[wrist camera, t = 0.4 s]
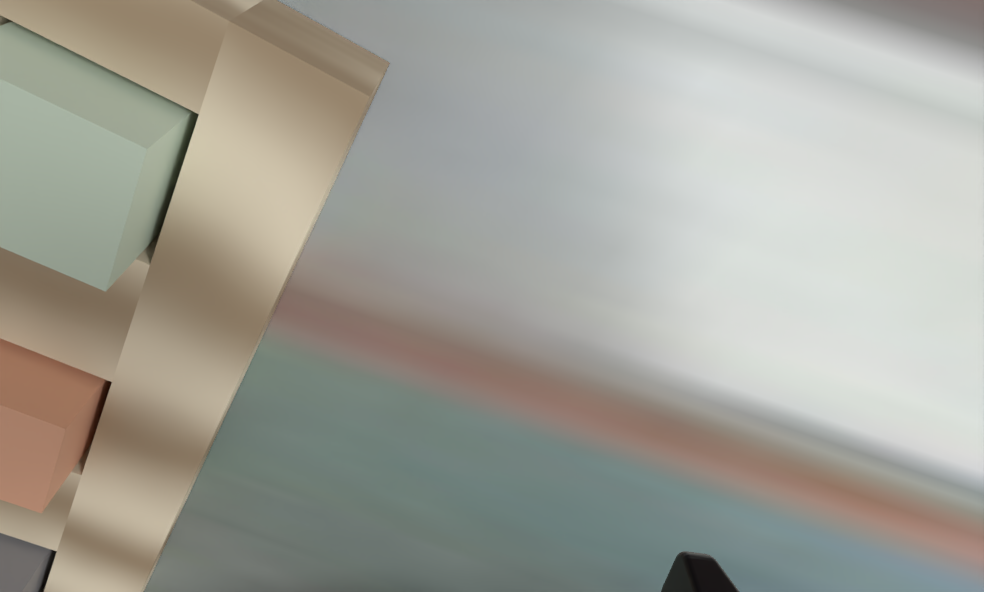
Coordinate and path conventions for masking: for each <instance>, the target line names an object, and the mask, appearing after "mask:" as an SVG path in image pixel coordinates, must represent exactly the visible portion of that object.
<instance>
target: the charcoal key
mask: <svg viewBox="0 0 984 592" xmlns="http://www.w3.org/2000/svg"><path fill="white" fill-rule="evenodd" d="M56 552H57V551H54V550H51V549H48V548H45V547H42V546H39V545H36V544H33V543H30V542H27V541H24V540H21V539H18V538H15V537H11V536H8V535H5V534H2V533H0V592H41V591H42V589H43V588H44V586H45V585H46V583H47V580H48V577H49V574H50V571H51V568H52V565H53V562H54V559H55V556H56Z"/></svg>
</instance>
